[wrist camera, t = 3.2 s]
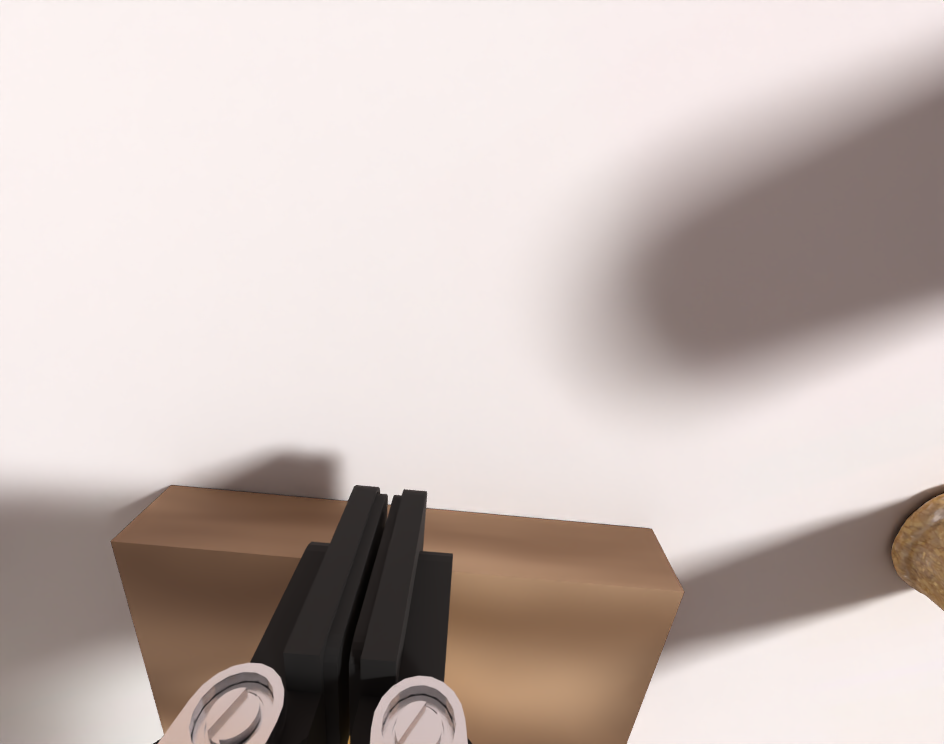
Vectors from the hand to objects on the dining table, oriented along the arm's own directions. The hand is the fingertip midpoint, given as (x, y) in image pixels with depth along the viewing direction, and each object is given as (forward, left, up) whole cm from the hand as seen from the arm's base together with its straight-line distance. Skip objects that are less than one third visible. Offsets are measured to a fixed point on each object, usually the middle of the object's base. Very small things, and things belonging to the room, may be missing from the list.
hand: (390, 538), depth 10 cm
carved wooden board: (0, +17, -4) cm, 17 cm away
